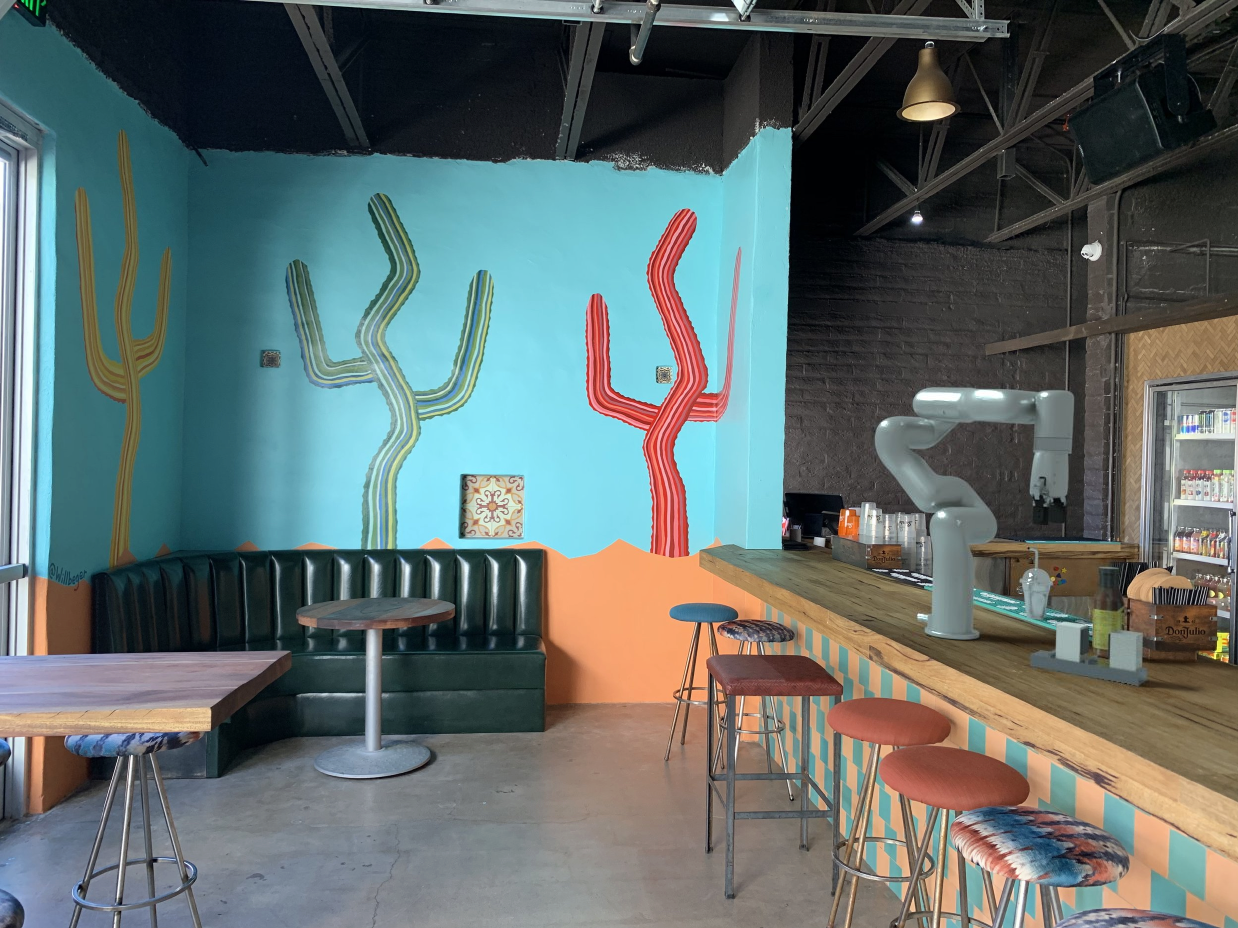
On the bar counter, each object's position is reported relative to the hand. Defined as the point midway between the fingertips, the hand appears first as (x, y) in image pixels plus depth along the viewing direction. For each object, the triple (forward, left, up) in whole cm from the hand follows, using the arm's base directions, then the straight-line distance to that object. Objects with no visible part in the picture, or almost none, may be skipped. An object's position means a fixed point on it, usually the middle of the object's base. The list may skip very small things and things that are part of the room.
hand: (1048, 523), depth 186 cm
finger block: (+8, -9, -27) cm, 29 cm away
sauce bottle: (+9, +12, -30) cm, 34 cm away
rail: (+11, -9, -30) cm, 33 cm away
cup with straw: (-19, +47, -30) cm, 59 cm away
